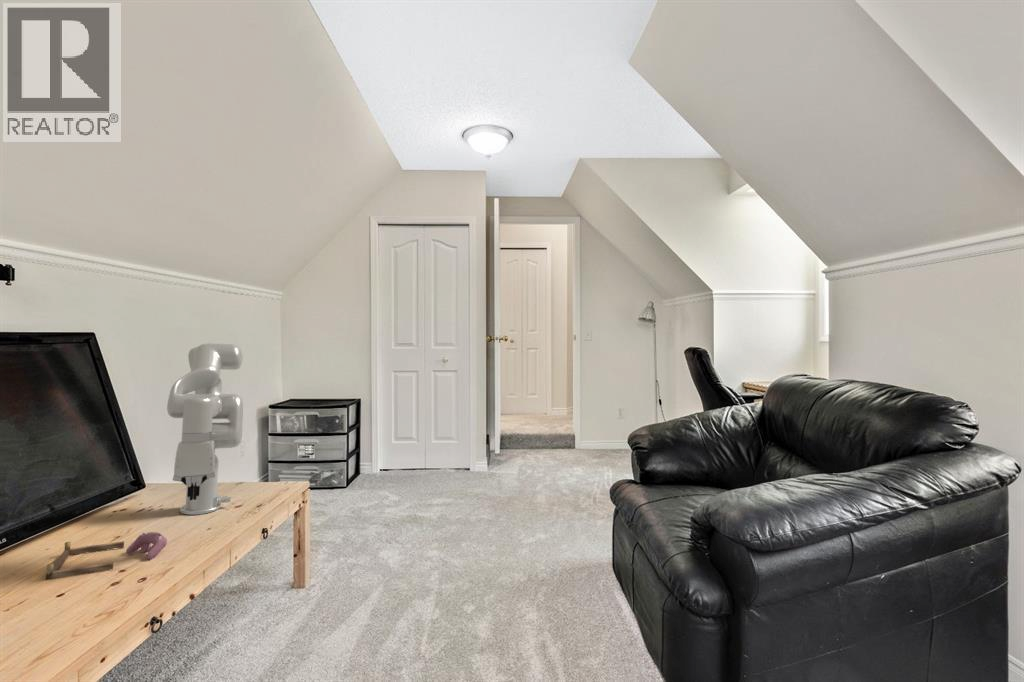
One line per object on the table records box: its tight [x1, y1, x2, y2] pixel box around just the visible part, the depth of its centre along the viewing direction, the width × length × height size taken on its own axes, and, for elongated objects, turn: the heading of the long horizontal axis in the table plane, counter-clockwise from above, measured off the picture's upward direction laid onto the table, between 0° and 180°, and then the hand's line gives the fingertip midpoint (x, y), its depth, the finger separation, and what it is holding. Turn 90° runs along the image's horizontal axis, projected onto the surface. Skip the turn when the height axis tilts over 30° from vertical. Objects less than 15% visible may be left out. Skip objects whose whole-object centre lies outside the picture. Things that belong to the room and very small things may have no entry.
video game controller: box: [125, 531, 168, 561], centre depth 138 cm, size 10×5×7 cm, turn 71°
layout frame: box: [45, 541, 125, 581], centre depth 132 cm, size 13×16×4 cm
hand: (193, 498), depth 144 cm, fingers closed
